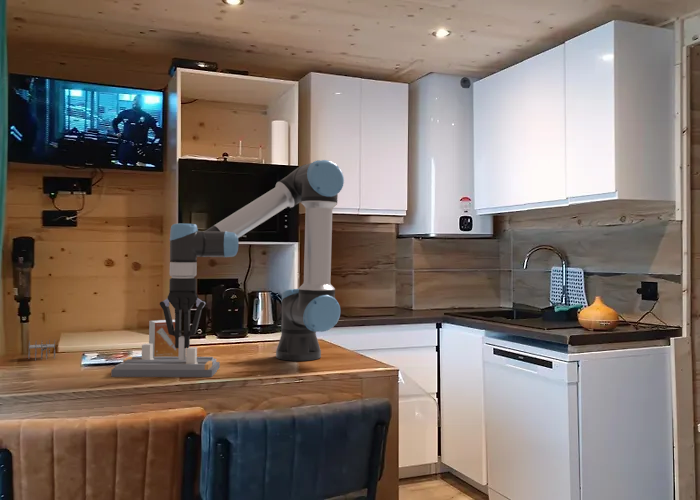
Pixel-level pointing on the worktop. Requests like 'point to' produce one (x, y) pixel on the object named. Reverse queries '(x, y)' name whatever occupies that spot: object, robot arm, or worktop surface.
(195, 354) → the tab
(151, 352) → the tab
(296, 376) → the worktop surface
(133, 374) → the switch board
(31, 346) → the building frame
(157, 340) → the small box
